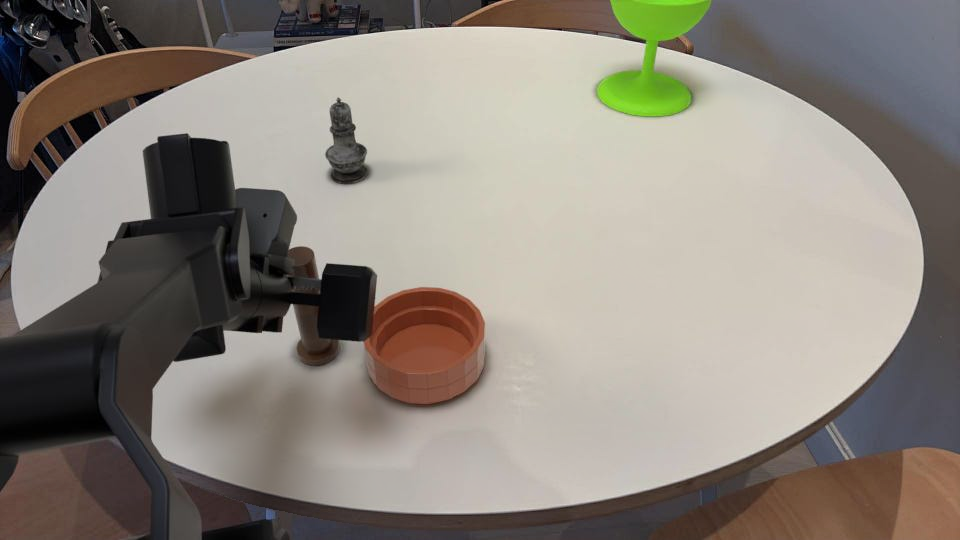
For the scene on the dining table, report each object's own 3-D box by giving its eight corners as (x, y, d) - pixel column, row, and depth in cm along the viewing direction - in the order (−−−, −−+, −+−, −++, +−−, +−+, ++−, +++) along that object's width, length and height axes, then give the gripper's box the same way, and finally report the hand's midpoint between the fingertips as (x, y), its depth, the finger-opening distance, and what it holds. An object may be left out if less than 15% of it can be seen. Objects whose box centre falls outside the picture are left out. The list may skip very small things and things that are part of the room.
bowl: (431, 428, 67) (428, 394, 63) (343, 368, 72) (336, 334, 69) (507, 354, 74) (509, 320, 71) (422, 305, 80) (419, 272, 77)
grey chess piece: (320, 177, 100) (306, 100, 92) (346, 159, 104) (335, 83, 96) (351, 189, 98) (340, 111, 90) (378, 170, 102) (369, 94, 94)
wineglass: (710, 106, 117) (736, -4, 105) (628, 124, 112) (645, 11, 100) (656, 68, 128) (674, -35, 116) (580, 83, 123) (590, -23, 112)
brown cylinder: (316, 372, 72) (295, 277, 64) (289, 352, 74) (264, 258, 66) (348, 348, 75) (331, 253, 66) (320, 329, 77) (300, 236, 68)
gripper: (358, 191, 51) (400, 222, 66) (116, 175, 53) (212, 209, 68) (344, 344, 50) (389, 339, 66) (98, 323, 52) (199, 323, 67)
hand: (296, 299), depth 67 cm, fingers open, 9 cm apart
